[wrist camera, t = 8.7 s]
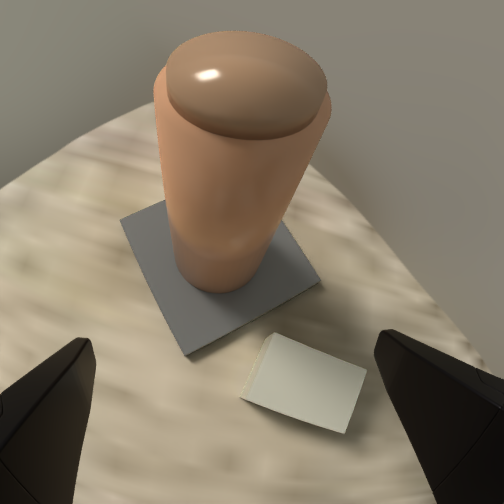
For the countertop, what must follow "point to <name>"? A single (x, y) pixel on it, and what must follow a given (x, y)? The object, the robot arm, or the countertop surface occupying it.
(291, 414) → the grey box
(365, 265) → the countertop surface
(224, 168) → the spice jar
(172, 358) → the countertop surface
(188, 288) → the slate coaster
